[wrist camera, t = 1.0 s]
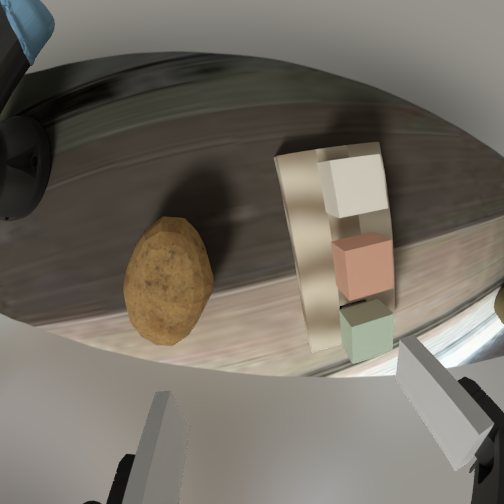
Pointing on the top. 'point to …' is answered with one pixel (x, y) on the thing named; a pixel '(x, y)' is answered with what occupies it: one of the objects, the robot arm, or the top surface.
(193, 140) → the top surface
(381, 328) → the block sage
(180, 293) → the potato
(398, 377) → the robot arm
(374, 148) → the board
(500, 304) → the squeeze bottle
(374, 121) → the top surface
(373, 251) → the block terracotta
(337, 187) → the block cream
